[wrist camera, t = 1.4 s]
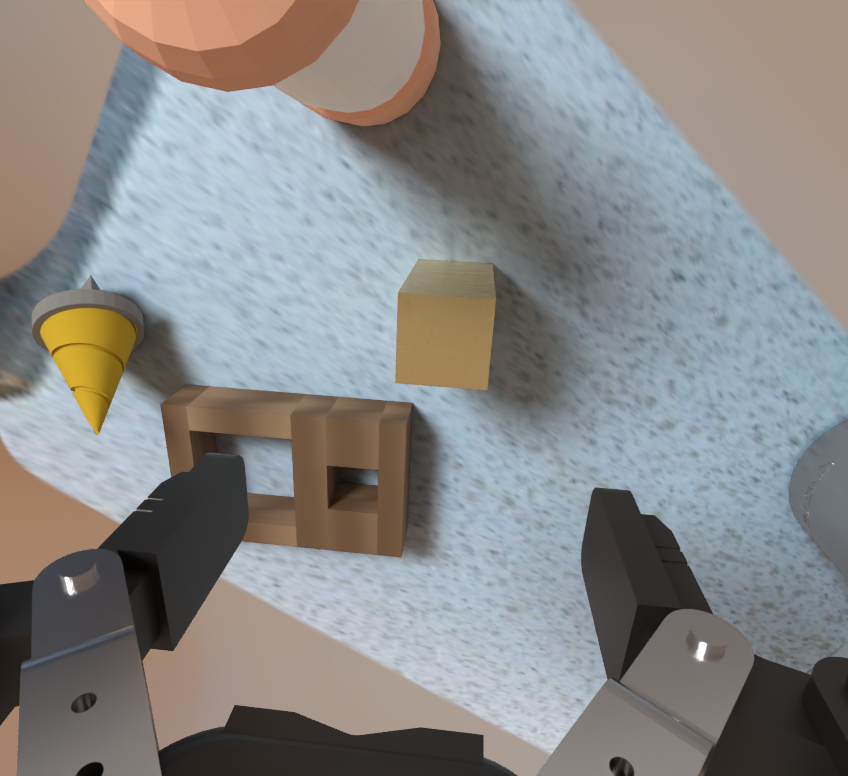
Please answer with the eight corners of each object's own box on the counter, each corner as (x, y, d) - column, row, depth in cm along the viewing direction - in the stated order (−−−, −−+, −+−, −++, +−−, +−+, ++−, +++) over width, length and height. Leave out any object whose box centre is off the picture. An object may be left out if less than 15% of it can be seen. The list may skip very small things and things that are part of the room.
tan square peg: (492, 263, 30) (496, 299, 23) (486, 335, 32) (487, 390, 24) (418, 259, 30) (398, 292, 23) (415, 330, 32) (395, 383, 25)
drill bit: (144, 254, 32) (161, 406, 28) (134, 311, 36) (149, 452, 32) (29, 242, 29) (30, 410, 25) (32, 305, 33) (34, 461, 29)
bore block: (412, 402, 34) (406, 425, 31) (407, 527, 37) (401, 557, 34) (186, 384, 35) (160, 404, 32) (201, 507, 38) (179, 535, 35)
